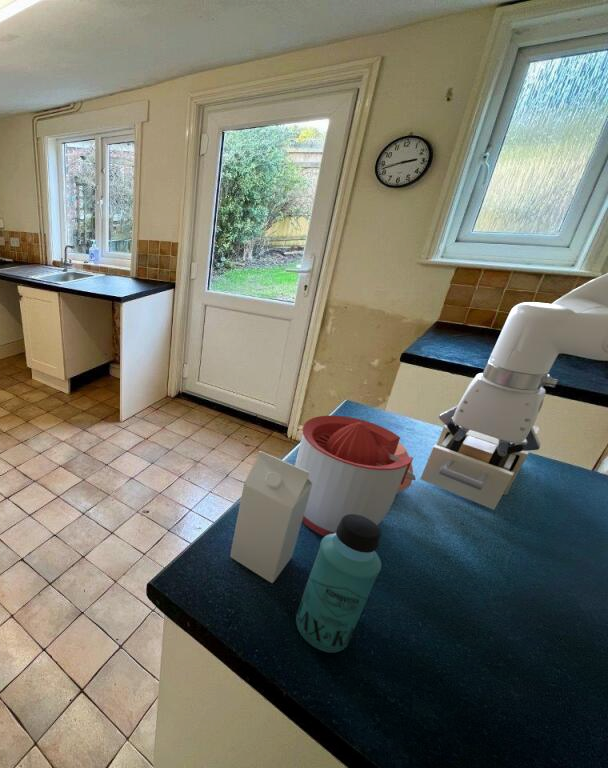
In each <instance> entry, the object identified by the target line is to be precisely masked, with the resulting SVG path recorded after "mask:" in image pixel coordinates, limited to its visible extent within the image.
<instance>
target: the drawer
mask: <svg viewBox="0 0 608 768" xmlns="http://www.w3.org/2000/svg"><path fill="white" fill-rule="evenodd" d="M453 442H454V439H453V435H452V433H450V434H449V436H448V437H447V438H446V439H445V441H444V442H443V443H442V444H441V446H438V445H436V444H434V445H433V447H432V450H431V452H430V454H429V457H428V459H427V461H426V464H425V466H424V469H423V470H422V473H421V475H420V478H419V479H420V480H421V481H424V482H426V483H428V484H431V485H433V486H436V487H437V488H441V489H443V490H445V491H448V492H450V493H452V494H455V495H457V496H459V497H462V498H465V499H466V500H469V501H471V502H474V503H476V504H479V505H481V506H484V507H486V508H489V509H490V510H493V511H495V510H496V508H497V506H498V504H499V503H500V500H501V498H502V497H503V495H504V494H503V493H504V491H505V489H506V487H507V485H508V484H509V482H510V480H511V478H512V476H513V474H514V473H513V472H510V471H509V469H510V467H511V465H512V463H513V461H514V459H515V457H516V454H513V453H512V454H507V455H506V456H503V457H502V459H501V461H500V463H499V465H498V467H496V466H494V465H491V464H488V463H485V462H483V461H480V460H477V459H474V458H471V457H469V456H466V455H463V454H460V453H457V452H455V451H452V450H450V449H451V446H452V444H453ZM496 449H497V448H496Z"/></svg>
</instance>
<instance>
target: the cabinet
mask: <svg viewBox="0 0 608 768" xmlns="http://www.w3.org/2000/svg"><path fill="white" fill-rule="evenodd" d="M452 419H453V417H452ZM459 427H460V428H461V426H459ZM533 429H534V431H535V433H536V435H538V433H539V431H540V429H541V426H537V425H535V424H534V425H533ZM450 433H451V432H450V431H449V429H448V427H447V426H446V425H445V424H444V426H443V428H442V430H441V432H440V435H439V437H438V440H437V442H436V444H435V445H438V446H441V444H442V443H443V442H444V441H445V439H446V438H447V437H448V436H449V434H450ZM468 435H469V436H472V437H475V438H478V439H481V440H484V441H487V442H490V443H493V444H496V445H498V444H499V439H497V438H494V437H491V436H488V435H485V434H482V433H479V432H476V431H473V430H469V431H468V432H467V433H466V438H467V436H468ZM523 442H527V440H526V438H525V440H524V441H523ZM521 443H522V442H521ZM510 444H512V443H511V442H510ZM497 447H498V446H497ZM513 454H516V457H515V459H514V461H513V463H512V465H511V467H510V469H509V471H510V472H513V473H514V474H513V476H512V478H511V480H510V482H509V484H508V485H507V487H506V489H505V491H504V493H503V495H504V496H506V495H507V494H508V493H509V491H510V489H511V486H513V483H514V481H515V479H516V477H518V474H519V472H520V471H521V469H522V467H523V464H524V463H525V462H526V458H527V457H528V456H529V454H530V451H521V452H516V453H513Z"/></svg>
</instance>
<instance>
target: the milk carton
mask: <svg viewBox="0 0 608 768" xmlns="http://www.w3.org/2000/svg"><path fill="white" fill-rule="evenodd" d="M308 476H309V472H308V471H306V470H304V469H301V468H299V467H297V466H295V464H291V463H289V462H287V461H284V460H282V459H280V458H277V457H275V456H273V455H271V454H268V453H266V452H264V451H261V450H259V451H258V455H257V458H256V460H255V461H254V463H253V466H252V467H251V469H250V471H249V473H248V475H247V477H246V478H245V480H244V482H243V486H242V492H241V496H240V502H239V507H238V513H237V518H236V523H235V529H234V534H233V539H232V544H231V550H230V555H229V557H230V558H231V559H233V560H234V561H235V562H237V563H239V564H241V565H242V566H243V567H245V568H247V569H249V570H250V571H252V572H253V573H255V574H256V575H257V576H260V578H263V579H264V580H266V581H268V582H269V583H271V584H273V583H274V582H275V581H276V580H277V579H278V577H279V576H280V574H281V573H282V571H283V570H284V569H285V567H286V566H287V565H288V563H289V562H290V560H291V559H292V558H293V554H294V551H295V548H296V544H297V541H298V537H299V533H300V529H301V527H302V523H303V522H302V520H303V516H304V512H305V509H306V505H307V502H308V498H309V495H310V491H311V487H312V483H311V482H310V480H309V479H308Z"/></svg>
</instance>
